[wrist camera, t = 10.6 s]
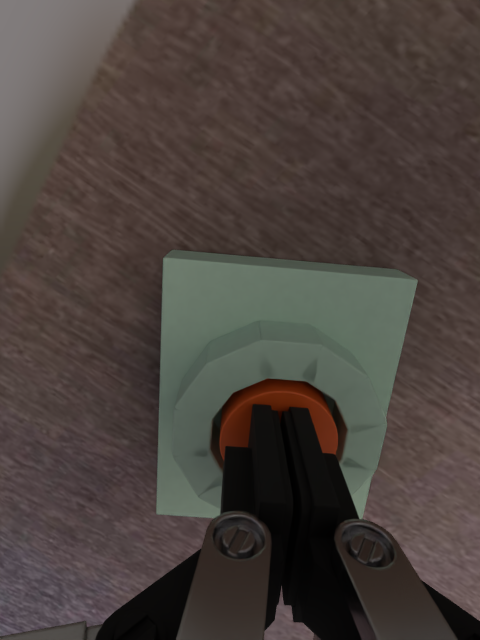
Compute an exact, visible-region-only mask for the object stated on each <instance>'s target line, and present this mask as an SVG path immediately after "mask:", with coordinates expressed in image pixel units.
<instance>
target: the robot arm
mask: <svg viewBox="0 0 480 640" xmlns="http://www.w3.org/2000/svg"><path fill="white" fill-rule="evenodd" d="M281 585H282V592H283V601H284V604H285V605H291V606H292V614H293V621H294V622H302V623H304V624H305V625H306V626H307V627H308V628H309V629H310V630H311V631H312V632H313V633H314V638H313V640H480V621H479V620H477V619H476V618H474V617H473V616H472V615H470V614H469V613H467V612H466V611H464V610H463V609H462V608H460V607H459V606H457V605H456V604H454V603H453V602H452V601H450V600H449V599H447V598H446V597H445V596H443V595H442V594H440V593H439V592H437V591H436V590H435V589H433V588H432V587H430V586H429V585H427V584H426V583H425V582H423V581H422V580H421V579H420V578H419V576H418V575H417V573H416V571H415V570H414V568H413V567H412V565H411V563H410V562H409V560H408V558H407V557H406V555H405V554H404V552H403V550H402V549H401V547H400V546H399V544H398V542H397V541H396V540H395V539H394V537H393V536H392V535H391V534H390V533H389V532H388V531H386V530H385V529H384V528H383V527H381V526H379V525H377V524H375V523H373V522H370V521H367V520H364V519H359V516H358V513H357V510H356V508H355V505H354V502H353V500H352V497H351V494H350V492H349V489H348V486H347V483H346V481H345V478H344V475H343V473H342V470H341V467H340V464H339V462H338V459H337V457H336V455H335V454H332V453H323V452H322V449H321V446H320V443H319V440H318V437H317V434H316V431H315V427H314V424H313V421H312V418H311V415H310V412H309V409H308V408H301V407H289V410H288V411H283V412H282V415H281V423H280V421H279V415H278V411H277V410H272V408H271V405H261V404H253V406H252V414H251V423H250V432H249V441H248V447H235V446H225V455H224V466H223V478H222V492H221V510H220V515H218V516H216V517H215V518H214V519H213V520H212V521H211V522H210V524H209V526H208V528H207V530H206V534H205V538H204V541H203V545H202V548H201V549H200V550H198V551H197V552H196V553H194V554H193V555H192V556H190V557H189V558H188V559H186V560H185V561H183V562H182V563H181V564H179V565H178V566H177V567H175V568H174V569H173V570H171V571H170V572H168V573H167V574H166V575H164V576H163V577H162V578H160V579H159V580H157V581H156V582H155V583H153V584H152V585H151V586H149V587H148V588H147V589H145V590H144V591H142V592H141V593H140V594H138V595H137V596H136V597H134V598H133V599H132V600H130V601H129V602H127V603H126V604H125V605H123V606H122V607H121V608H119V609H118V610H116V611H115V612H114V613H113V614H112V615H111V616H110V617H109V618H108V619H107V620H106V621H105V622H104V623H103V624H101V625H95V626H90V627H87V624H86V621H83V622H77V623H72V624H66V625H61V626H55V627H50V628H44V629H39V630H33V631H28V632H22V633H17V634H11V635H6V636H0V640H264V632H265V630H266V629H267V628H268V627H269V626H270V625H271V623H272V622H273V621H274V620H275V614H276V607H277V605H278V603H279V597H280V591H281Z"/></svg>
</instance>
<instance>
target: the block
mask: <svg viewBox="0 0 480 640" xmlns="http://www.w3.org/2000/svg"><path fill="white" fill-rule="evenodd" d="M417 282H418V280H417V279H415V278H413V277H411V276H409V275H407V274H405V273H403V272H401V271H400V270H398V269H388V268H376V267H365V266H354V265H342V264H331V263H319V262H308V261H297V260H285V259H274V258H262V257H251V256H240V255H228V254H217V253H206V252H194V251H183V250H171V251H170V252H169V253H168V254H167V255H166V256H165V257H164V258H163V278H162V315H161V353H160V390H159V427H158V464H157V502H156V514H159V515H174V516H188V517H203V518H215V517H216V516H218V515H220V510H221V492H222V478H223V466H224V461H223V459H222V456H221V452H220V446H219V439H220V427H221V414H222V406H223V405H224V404H225V403H226V401H227V400H228V399H229V397H230V396H231V395H232V394H233V393H234V392H236V391H239V390H241V389H243V388H246V387H248V386H251V385H253V384H255V383H258V382H260V381H263V380H265V379H267V378H269V379H282V380H294V381H306V382H308V383H309V384H311V385H312V386H314V387H315V388H317V389H318V390H320V391H321V392H322V393H323V395H324V397H325V400H326V402H327V405H328V407H329V410H330V412H331V414H332V417H333V419H334V422H335V425H336V427H337V432H338V447H337V451H336V457H337V459H338V462H339V464H340V467H341V470H342V473H343V475H344V478H345V481H346V483H347V486H348V489H349V492H350V494H351V497H352V500H353V502H354V505H355V508H356V510H357V513H358V516H359V519H362V518H363V513H364V509H365V505H366V500H367V496H368V492H369V488H370V483H371V479H372V475H373V474H374V473H375V470H377V466H378V462H379V458H380V454H381V450H382V445H383V441H384V437H385V433H386V428H387V420H386V415H387V410H388V406H389V402H390V398H391V393H392V389H393V385H394V380H395V376H396V372H397V368H398V363H399V359H400V355H401V350H402V346H403V342H404V338H405V333H406V329H407V325H408V320H409V316H410V312H411V308H412V303H413V299H414V295H415V290H416V286H417Z"/></svg>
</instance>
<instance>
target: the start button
mask: <svg viewBox="0 0 480 640" xmlns="http://www.w3.org/2000/svg"><path fill="white" fill-rule="evenodd" d="M253 404H261V405H271V408H272V410H277V411H278V415H279V421H280V423H281V415H282V412H283V411H288V410H289V407H301V408H308V409H309V412H310V415H311V418H312V421H313V424H314V427H315V431H316V434H317V437H318V440H319V443H320V446H321V449H322V452H323V453H332V454H335V455H336V451H337V447H338V432H337V427H336V425H335V422H334V419H333V417H332V414H331V412H330V410H329V407H328V405H327V402H326V400H325V397H324V395H323V393H322V392H321V391H320V390H318V389H317V388H315V387H314V386H312V385H311V384H309V383H308V382H306V381H294V380H282V379H269V378H267V379H265V380H263V381H260V382H258V383H255V384H253V385H251V386H248V387H246V388H243V389H241V390H239V391H236V392H234V393H233V394H232V395H231V396H230V397H229V399H228V400H227V401H226V403H225V404H224V405H223V406H222V414H221V427H220V439H219V446H220V452H221V456H222V459H223V461H224V455H225V446H235V447H248V441H249V432H250V423H251V414H252V406H253Z"/></svg>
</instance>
